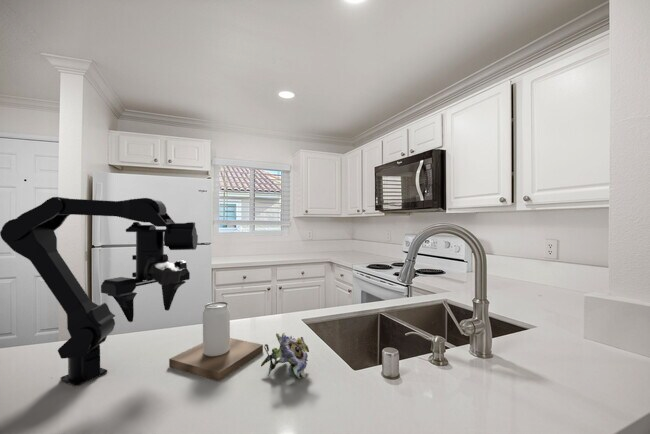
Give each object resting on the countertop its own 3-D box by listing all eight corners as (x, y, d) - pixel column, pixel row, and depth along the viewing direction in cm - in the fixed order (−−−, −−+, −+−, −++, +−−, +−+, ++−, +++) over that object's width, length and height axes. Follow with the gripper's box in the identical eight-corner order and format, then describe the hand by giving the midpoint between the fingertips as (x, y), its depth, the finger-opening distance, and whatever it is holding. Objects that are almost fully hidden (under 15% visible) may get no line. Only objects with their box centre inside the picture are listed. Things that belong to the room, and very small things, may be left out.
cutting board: (169, 367, 72) (169, 358, 72) (218, 342, 87) (218, 335, 87) (218, 381, 65) (218, 372, 65) (262, 352, 80) (262, 344, 80)
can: (219, 359, 72) (218, 309, 72) (197, 355, 74) (196, 307, 74) (235, 347, 78) (234, 302, 78) (214, 345, 80) (213, 300, 80)
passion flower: (301, 401, 67) (308, 374, 60) (253, 393, 67) (255, 365, 60) (307, 354, 76) (314, 326, 70) (265, 347, 76) (268, 318, 69)
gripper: (133, 256, 59) (132, 334, 59) (205, 248, 76) (205, 309, 76) (99, 254, 64) (99, 326, 64) (174, 246, 81) (174, 304, 81)
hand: (149, 315), depth 71 cm, fingers open, 9 cm apart
